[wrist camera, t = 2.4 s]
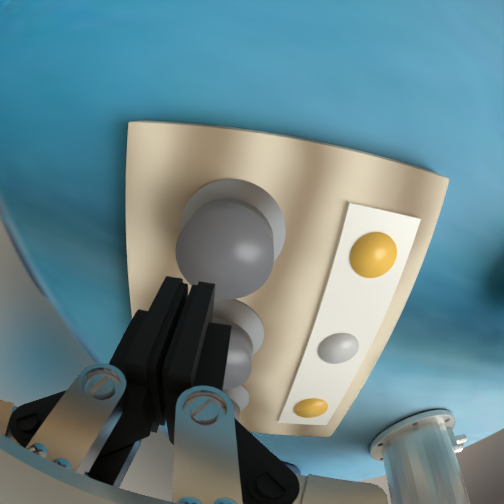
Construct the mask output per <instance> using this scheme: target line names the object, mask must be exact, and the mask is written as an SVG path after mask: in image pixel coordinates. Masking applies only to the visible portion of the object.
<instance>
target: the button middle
mask: <svg viewBox="0 0 504 504" xmlns="http://www.w3.org/2000/svg"><path fill="white" fill-rule="evenodd" d="M212 322H213V323H219V324H226V325H232V328H231V335H230V343H229V350H228V357H227V364H226V371H225V378H224V385H223V390H225V389H231V388H235V387H238V386H240V385H241V384H243V383H244V382H245V381H246V380H247V379H248V378H249V376H250V374H251V368H252V357H253V343H252V340H251V338H250V336H249V335H248V333H247V332H246V331H245V330H244V329H243V328H241V327H240V326H238V325H237V324H235V323H233V322H230V321H228V320H224V319H219V318H213V319H212Z"/></svg>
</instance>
